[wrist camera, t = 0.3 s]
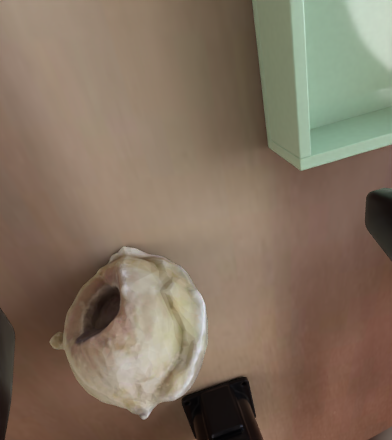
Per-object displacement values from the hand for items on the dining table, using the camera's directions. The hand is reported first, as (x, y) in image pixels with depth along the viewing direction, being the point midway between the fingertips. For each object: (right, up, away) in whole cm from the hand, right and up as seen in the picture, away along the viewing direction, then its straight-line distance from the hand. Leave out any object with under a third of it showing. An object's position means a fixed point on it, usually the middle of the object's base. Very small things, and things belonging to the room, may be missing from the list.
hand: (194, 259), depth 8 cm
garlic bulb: (-5, -4, +18) cm, 19 cm away
